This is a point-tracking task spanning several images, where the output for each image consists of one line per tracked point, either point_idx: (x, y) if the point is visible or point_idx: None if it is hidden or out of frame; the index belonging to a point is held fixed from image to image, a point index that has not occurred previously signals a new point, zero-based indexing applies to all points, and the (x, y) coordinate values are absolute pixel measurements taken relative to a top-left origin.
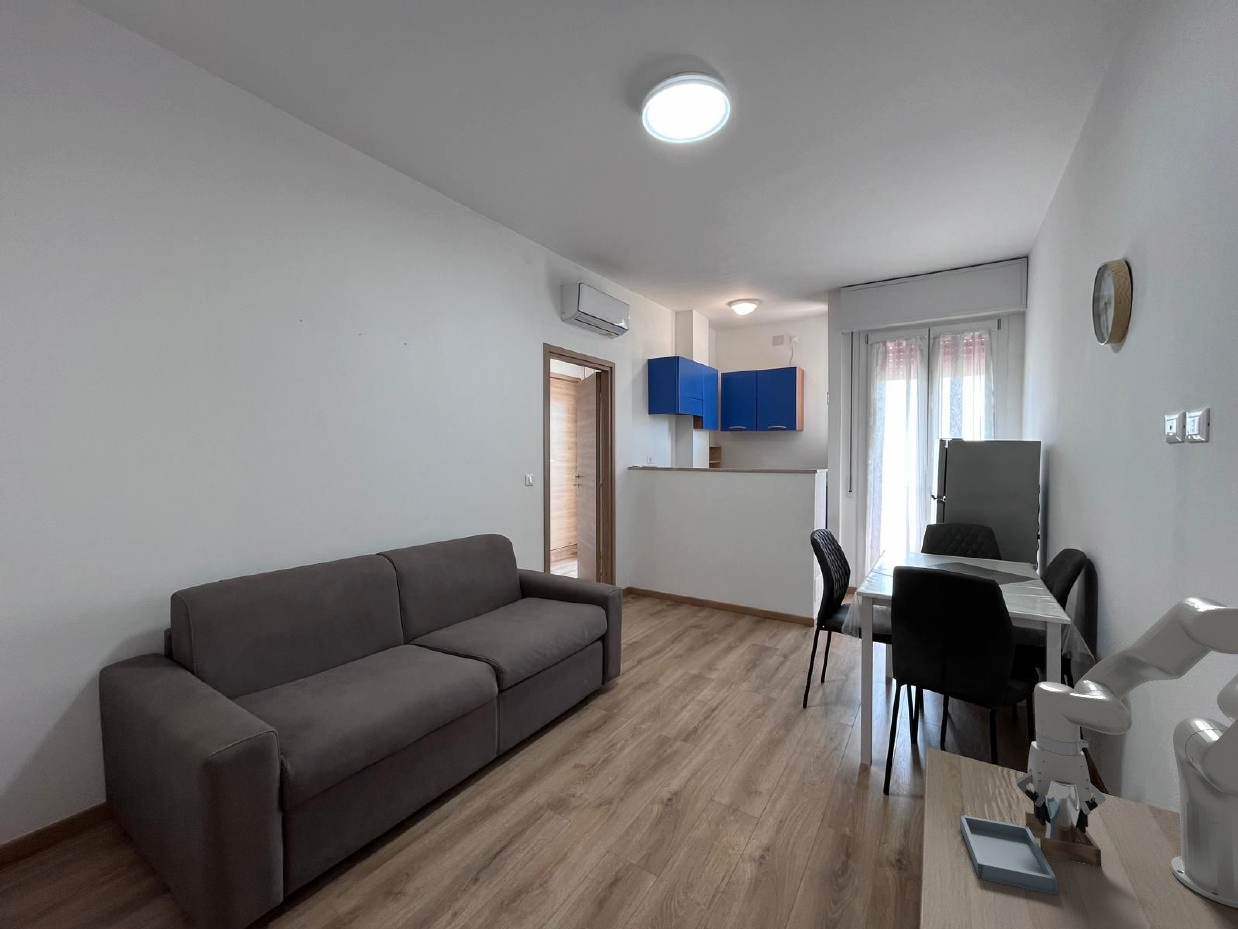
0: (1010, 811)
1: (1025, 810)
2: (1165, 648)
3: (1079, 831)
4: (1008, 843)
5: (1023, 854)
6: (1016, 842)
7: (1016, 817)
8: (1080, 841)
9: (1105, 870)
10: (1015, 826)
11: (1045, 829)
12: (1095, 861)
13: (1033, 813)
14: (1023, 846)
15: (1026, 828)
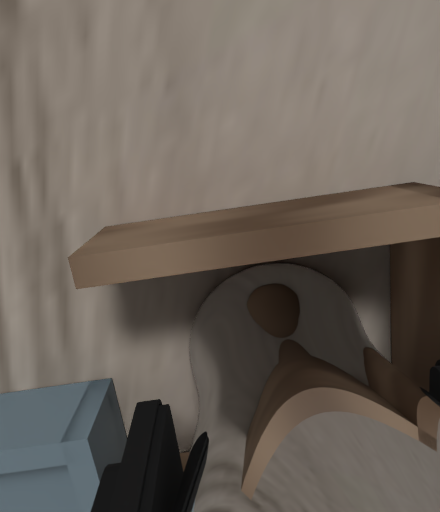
0: (12, 67)
1: (69, 260)
2: None
3: (424, 269)
4: (2, 496)
5: None
6: (40, 472)
7: (52, 140)
8: (392, 259)
9: None
10: (6, 470)
11: (198, 383)
12: None
13: (130, 279)
14: (74, 491)
15: (73, 464)
